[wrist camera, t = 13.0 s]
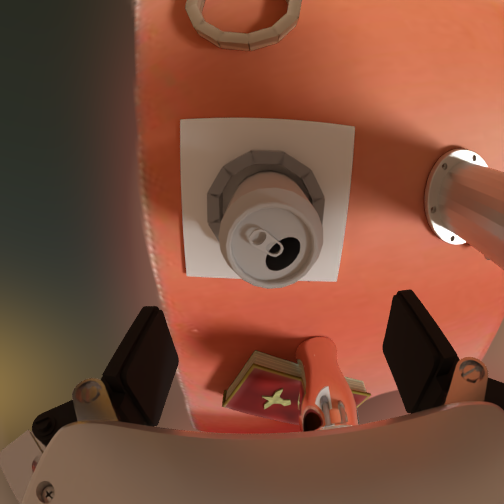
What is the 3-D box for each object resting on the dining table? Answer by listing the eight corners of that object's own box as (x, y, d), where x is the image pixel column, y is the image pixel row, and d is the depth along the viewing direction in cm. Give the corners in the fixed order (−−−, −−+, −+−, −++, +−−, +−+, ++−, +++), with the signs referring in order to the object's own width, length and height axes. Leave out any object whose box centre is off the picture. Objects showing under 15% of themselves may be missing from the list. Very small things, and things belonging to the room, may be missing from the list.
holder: (353, 126, 26) (363, 126, 23) (335, 279, 33) (341, 292, 30) (181, 119, 26) (172, 118, 23) (187, 273, 34) (181, 286, 31)
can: (272, 250, 31) (276, 315, 20) (218, 208, 30) (192, 255, 19) (318, 200, 29) (351, 243, 18) (264, 154, 27) (265, 167, 16)
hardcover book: (326, 414, 46) (329, 432, 42) (224, 389, 43) (221, 409, 39) (365, 378, 41) (371, 396, 38) (253, 345, 38) (253, 366, 35)
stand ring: (319, 5, 20) (323, -4, 18) (252, 69, 24) (251, 63, 22) (238, -40, 18) (236, -50, 15) (171, 20, 21) (164, 12, 19)
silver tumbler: (348, 340, 37) (375, 426, 24) (323, 371, 40) (338, 453, 26) (306, 328, 36) (323, 421, 23) (283, 361, 39) (289, 449, 25)
